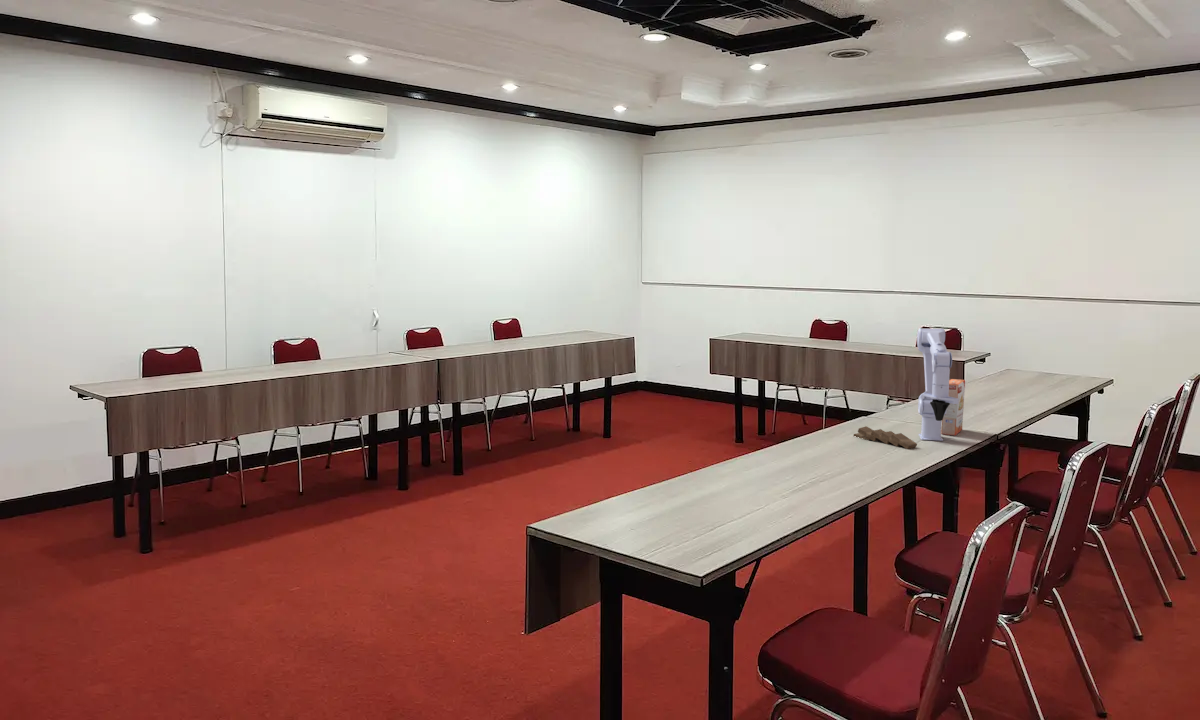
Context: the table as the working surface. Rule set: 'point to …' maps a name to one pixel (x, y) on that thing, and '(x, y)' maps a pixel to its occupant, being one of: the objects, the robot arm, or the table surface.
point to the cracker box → (954, 409)
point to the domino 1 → (861, 436)
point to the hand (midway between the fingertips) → (939, 420)
